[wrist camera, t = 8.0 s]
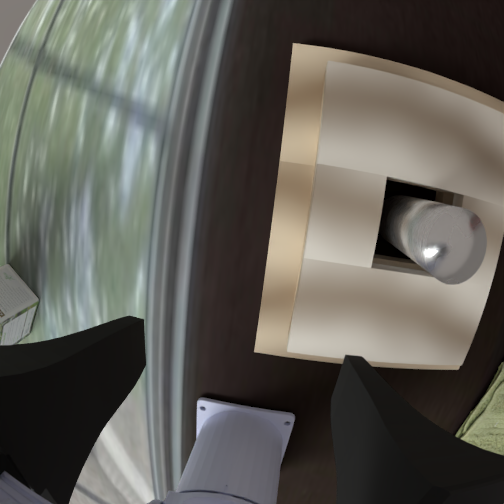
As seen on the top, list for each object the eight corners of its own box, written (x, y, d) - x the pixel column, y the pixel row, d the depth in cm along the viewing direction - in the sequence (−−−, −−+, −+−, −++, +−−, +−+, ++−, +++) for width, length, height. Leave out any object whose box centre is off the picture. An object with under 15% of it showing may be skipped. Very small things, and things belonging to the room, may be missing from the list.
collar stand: (452, 361, 20) (471, 388, 16) (256, 343, 22) (248, 373, 18) (503, 108, 15) (533, 101, 11) (293, 50, 17) (292, 24, 13)
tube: (415, 248, 19) (474, 289, 11) (371, 239, 19) (416, 278, 11) (425, 201, 18) (493, 218, 10) (382, 189, 18) (435, 198, 10)
